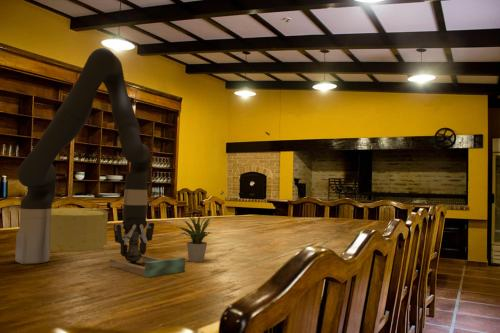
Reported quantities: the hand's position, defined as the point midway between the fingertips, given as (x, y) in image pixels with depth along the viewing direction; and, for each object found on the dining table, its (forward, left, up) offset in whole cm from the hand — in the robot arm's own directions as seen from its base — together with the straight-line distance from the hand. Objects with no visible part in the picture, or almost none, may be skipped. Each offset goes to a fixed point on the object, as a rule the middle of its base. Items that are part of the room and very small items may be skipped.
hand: (133, 255), depth 137 cm
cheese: (+2, +47, -3) cm, 47 cm away
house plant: (+22, -6, -3) cm, 23 cm away
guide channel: (0, -7, -3) cm, 8 cm away
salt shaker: (0, 0, -3) cm, 3 cm away
